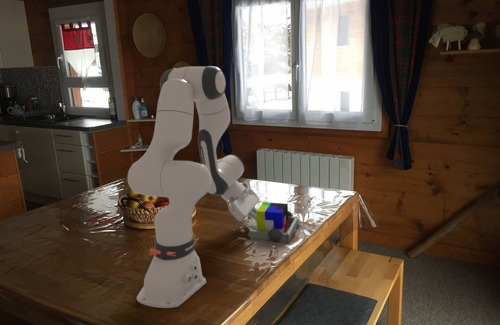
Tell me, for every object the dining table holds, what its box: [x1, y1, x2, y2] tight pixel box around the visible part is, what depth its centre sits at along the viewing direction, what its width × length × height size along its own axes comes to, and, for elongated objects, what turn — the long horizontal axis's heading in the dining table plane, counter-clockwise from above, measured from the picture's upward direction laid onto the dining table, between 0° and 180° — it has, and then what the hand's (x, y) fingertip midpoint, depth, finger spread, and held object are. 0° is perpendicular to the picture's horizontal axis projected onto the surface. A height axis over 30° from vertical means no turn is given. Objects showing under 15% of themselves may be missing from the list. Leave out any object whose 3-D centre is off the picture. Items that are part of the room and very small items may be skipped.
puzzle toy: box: [256, 201, 289, 233], centre depth 167 cm, size 10×10×10 cm
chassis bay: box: [249, 210, 300, 243], centre depth 167 cm, size 19×15×5 cm
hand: (259, 219), depth 169 cm, fingers closed, pressing on puzzle toy
